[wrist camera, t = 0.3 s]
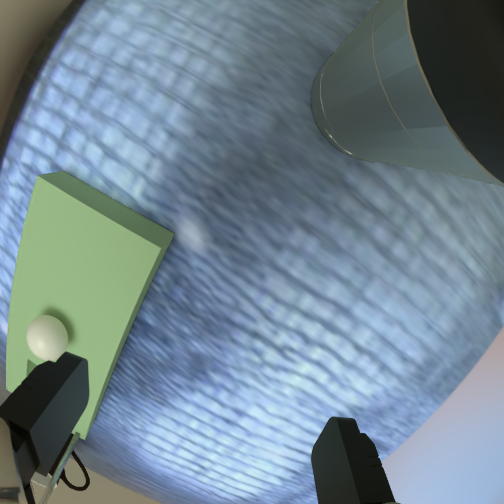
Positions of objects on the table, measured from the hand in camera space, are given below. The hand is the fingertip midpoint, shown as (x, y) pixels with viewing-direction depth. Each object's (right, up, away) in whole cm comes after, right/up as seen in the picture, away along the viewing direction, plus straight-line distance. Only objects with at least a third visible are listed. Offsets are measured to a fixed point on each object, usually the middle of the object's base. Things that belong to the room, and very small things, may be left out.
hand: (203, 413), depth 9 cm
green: (-17, -2, +20) cm, 26 cm away
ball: (-16, -2, +14) cm, 21 cm away
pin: (-19, -16, +20) cm, 32 cm away
